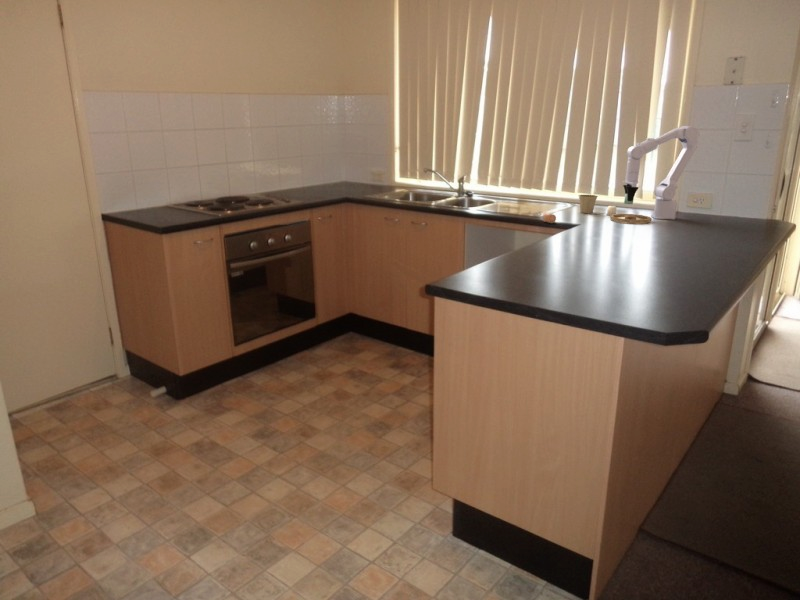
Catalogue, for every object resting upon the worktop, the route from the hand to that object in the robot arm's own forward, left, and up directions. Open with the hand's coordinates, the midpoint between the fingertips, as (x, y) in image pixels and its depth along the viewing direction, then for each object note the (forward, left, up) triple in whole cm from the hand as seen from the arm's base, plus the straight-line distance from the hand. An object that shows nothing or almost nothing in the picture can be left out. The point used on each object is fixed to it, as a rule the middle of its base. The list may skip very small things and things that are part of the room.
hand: (629, 200), depth 290 cm
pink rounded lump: (+38, +22, -6) cm, 44 cm away
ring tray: (0, +8, -8) cm, 12 cm away
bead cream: (+6, -6, -8) cm, 12 cm away
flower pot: (+17, -13, -9) cm, 23 cm away
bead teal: (0, 0, -2) cm, 2 cm away
